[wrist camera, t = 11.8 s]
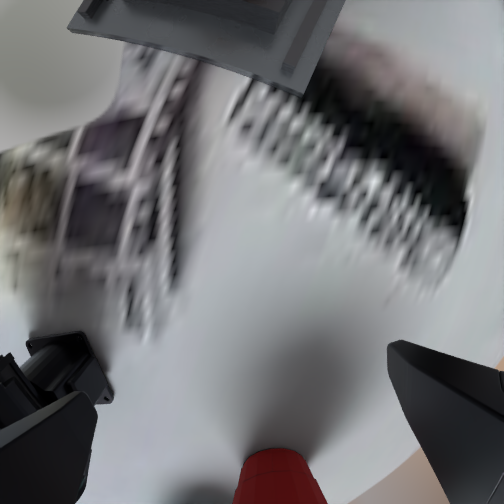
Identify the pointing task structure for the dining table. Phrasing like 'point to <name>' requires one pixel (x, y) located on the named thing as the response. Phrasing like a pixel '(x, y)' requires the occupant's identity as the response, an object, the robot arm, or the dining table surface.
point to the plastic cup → (277, 480)
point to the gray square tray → (223, 33)
